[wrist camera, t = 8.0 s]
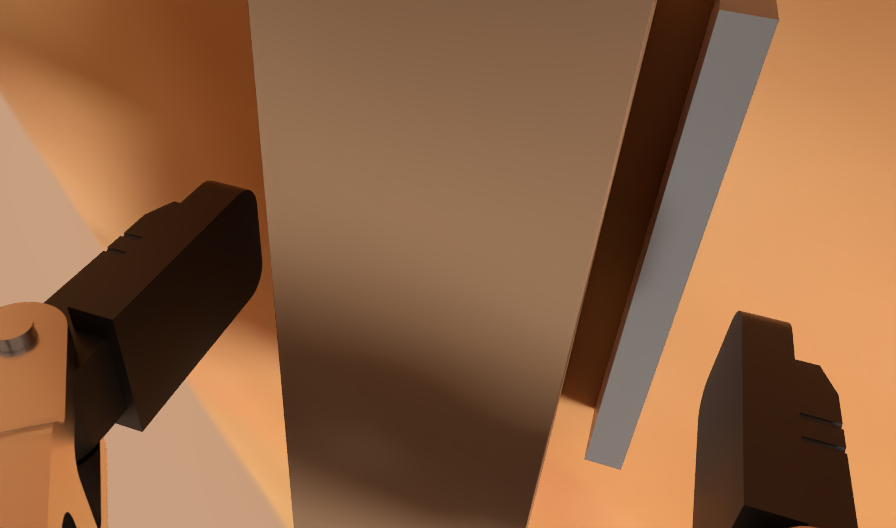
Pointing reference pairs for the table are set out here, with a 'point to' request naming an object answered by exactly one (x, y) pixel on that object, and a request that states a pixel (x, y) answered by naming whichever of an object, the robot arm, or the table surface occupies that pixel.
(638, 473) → the table surface
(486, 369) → the walnut slat
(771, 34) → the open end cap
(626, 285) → the table surface
